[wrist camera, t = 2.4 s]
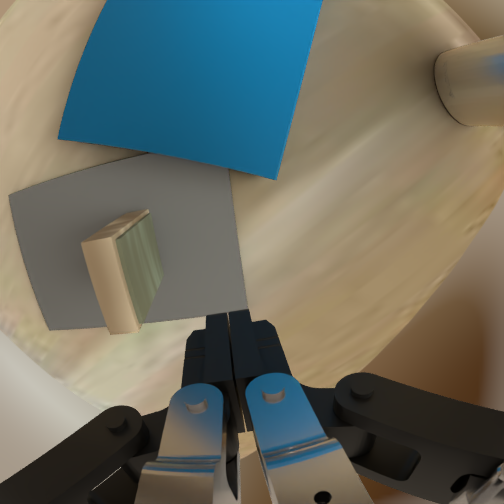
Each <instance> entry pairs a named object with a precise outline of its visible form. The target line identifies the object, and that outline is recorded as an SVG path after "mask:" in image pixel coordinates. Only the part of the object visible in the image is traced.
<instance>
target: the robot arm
mask: <svg viewBox="0 0 504 504" xmlns="http://www.w3.org/2000/svg"><path fill="white" fill-rule="evenodd" d="M435 82H436V86H437V90H438V92H439V95H440V98H441V100H442V102H443V103H444V105H445V107H446V109H447V110H448V111H449V113H450V114H451V115H452V116H453V117H454V118H455V119H456V120H457V121H458V122H460V123H461V124H464V125H467V126H504V35H502V36H498V37H494V38H490V39H486V40H482V41H479V42H475V43H472V44H468V45H464V46H461V47H458V48H455V49H452V50H449V51H446V52H443V53H442V54H440V55H439V57H438V58H437V60H436V64H435ZM228 313H229V320H228V315H227V312H224V313H217V314H210V315H206V329H202V330H195V331H193V332H192V333H191V335H190V336H189V337H188V339H187V342H186V351H185V359H184V367H183V376H182V385H181V389H180V390H178V391H177V392H176V393H175V394H174V395H173V396H172V398H171V400H170V404H169V407H167V408H165V409H163V410H161V411H158V412H154V413H151V414H147V415H144V416H141V415H140V413H139V412H138V411H137V410H136V409H134V408H132V407H129V406H114V407H111V408H109V409H107V410H105V411H103V412H102V413H101V414H99V415H98V416H96V417H95V418H94V419H92V420H91V421H90V422H88V423H87V424H86V425H84V426H83V427H81V428H80V429H79V430H77V431H76V432H75V433H73V434H72V435H70V436H69V437H68V438H66V439H65V440H63V441H62V442H61V443H59V444H58V445H57V446H55V447H54V448H52V449H51V450H49V451H48V452H47V453H45V454H44V455H42V456H41V457H39V458H38V459H36V460H35V461H34V462H32V463H30V464H29V465H28V466H26V467H25V468H23V469H22V470H20V471H19V472H17V473H16V474H14V475H13V476H11V477H10V478H8V479H7V480H5V481H3V482H2V483H0V504H241V488H240V454H239V440H238V433H242V432H245V427H244V419H245V423H246V428H247V432H248V431H253V433H254V438H255V442H256V447H257V451H258V455H259V458H260V462H261V465H262V469H263V472H264V476H265V479H266V483H267V486H268V489H269V492H270V496H271V499H272V503H273V504H373V502H372V500H371V498H370V496H369V495H368V493H367V491H366V489H365V487H364V486H363V484H362V482H361V480H360V478H359V477H358V475H357V473H358V474H360V475H363V476H365V477H367V478H369V479H372V480H374V481H376V482H379V483H381V484H384V485H387V486H389V487H392V488H394V489H397V490H400V491H403V492H405V493H408V494H411V495H414V496H417V497H420V498H423V499H426V500H429V501H433V502H436V503H439V504H504V412H503V411H498V410H494V409H490V408H485V407H481V406H478V405H473V404H470V403H466V402H462V401H458V400H455V399H451V398H447V397H444V396H441V395H437V394H434V393H430V392H427V391H424V390H420V389H417V388H414V387H411V386H407V385H405V384H402V383H398V382H395V381H392V380H389V379H386V378H383V377H380V376H378V375H374V374H371V373H354V374H350V375H348V376H346V377H344V378H342V379H341V380H340V381H339V382H338V383H337V385H336V387H335V388H312V387H308V386H305V385H302V384H301V383H299V382H298V381H297V380H296V379H295V378H294V377H293V376H292V374H291V371H290V368H289V366H288V363H287V360H286V357H285V354H284V352H283V349H282V346H281V343H280V340H279V338H278V335H277V332H276V329H275V327H274V326H273V325H272V324H271V323H269V322H268V321H267V320H262V321H256V322H252V321H251V316H250V312H249V309H243V310H237V311H230V312H228ZM229 323H230V326H229ZM242 410H243V412H242ZM243 415H244V419H243ZM120 467H121V468H120ZM119 468H120V469H119ZM117 469H119V470H117ZM116 470H117V471H116ZM115 471H116V472H115ZM114 472H115V473H114ZM112 473H114V474H113V475H111V474H112ZM110 475H111V476H110ZM109 476H110V477H109ZM108 477H109V478H108ZM106 478H108V479H106ZM105 479H106V480H105ZM104 480H105V481H104ZM103 481H104V482H103ZM101 482H103V483H101ZM100 483H101V484H100ZM99 484H100V485H99ZM98 485H99V486H98ZM96 486H98V487H96ZM95 487H96V488H95ZM94 488H95V489H94ZM92 489H94V490H92Z"/></svg>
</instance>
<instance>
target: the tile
mask: <svg viewBox="0 0 504 504" xmlns="http://www.w3.org/2000/svg"><path fill="white" fill-rule="evenodd" d="M81 246H82V249H83V253H84V257H85V260H86V264H87V267H88V271H89V274H90V278H91V281H92V284H93V287H94V290H95V293H96V296H97V299H98V302H99V305H100V308H101V311H102V314H103V316H104V319H105V322H106V325H107V327H108V330H109V332H110V335H112V334H125V333H137V332H139V330H140V328H141V325H142V324H143V323H144V321H145V319H146V316H147V314H148V311H149V309H150V306H151V304H152V302H153V299H154V297H155V295H156V292H157V290H158V288H159V285H160V283H161V281H162V278H163V276H164V272H163V268H162V263H161V259H160V255H159V250H158V245H157V241H156V236H155V231H154V226H153V221H152V216H151V213H149V210H148V209H145V210H140V211H135V212H130V213H126V214H124V215H123V216H121V217H119V218H118V219H116V220H115V221H113V222H112V223H110V224H108V225H107V226H105V227H104V228H102V229H101V230H99V231H98V232H96V233H95V234H93V235H92V236H90V237H89V238H87V239H86V240H84V241H83V242H81Z"/></svg>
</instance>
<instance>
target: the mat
mask: <svg viewBox="0 0 504 504" xmlns="http://www.w3.org/2000/svg"><path fill="white" fill-rule="evenodd" d="M9 201H10V206H11V211H12V216H13V221H14V225H15V230H16V234H17V238H18V242H19V245H20V249H21V253H22V256H23V260H24V263H25V266H26V270H27V273H28V276H29V279H30V282H31V285H32V288H33V290H34V293H35V296H36V299H37V301H38V304H39V307H40V309H41V312H42V314H43V316H44V319H45V321H46V324H47V326H48V328H49V330H68V329H84V328H98V327H107V325H106V322H105V319H104V316H103V314H102V311H101V308H100V305H99V302H98V299H97V296H96V293H95V290H94V287H93V284H92V281H91V278H90V274H89V271H88V267H87V264H86V260H85V257H84V253H83V249H82V246H81V242H83V241H84V240H86V239H87V238H89V237H90V236H92V235H93V234H95V233H96V232H98V231H99V230H101V229H102V228H104V227H105V226H107V225H108V224H110V223H112V222H113V221H115V220H116V219H118V218H119V217H121V216H123V215H124V214H126V213H130V212H135V211H140V210H145V209H148V210H149V213H151V216H152V221H153V226H154V231H155V236H156V241H157V245H158V250H159V255H160V259H161V263H162V268H163V272H164V276H163V278H162V281H161V283H160V285H159V288H158V290H157V292H156V295H155V297H154V299H153V302H152V304H151V306H150V309H149V311H148V314H147V316H146V319H145V321H144V323H152V322H161V321H170V320H179V319H187V318H195V317H202V316H206V315H210V314H217V313H224V312H227V313H228V312H230V311H237V310H243V309H248V306H247V299H246V292H245V285H244V278H243V271H242V264H241V257H240V250H239V243H238V236H237V228H236V221H235V214H234V207H233V199H232V192H231V184H230V177H229V169H228V168H224V167H219V166H215V165H210V164H206V163H201V162H196V161H191V160H186V159H181V158H176V157H171V156H166V155H161V154H155V153H149V154H144V155H140V156H135V157H131V158H127V159H122V160H118V161H114V162H110V163H107V164H103V165H99V166H95V167H92V168H88V169H85V170H81V171H78V172H74V173H71V174H68V175H64V176H61V177H58V178H55V179H52V180H49V181H46V182H43V183H40V184H37V185H34V186H32V187H29V188H26V189H23V190H21V191H18V192H15V193H13V194H10V195H9Z"/></svg>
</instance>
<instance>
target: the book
mask: <svg viewBox="0 0 504 504" xmlns="http://www.w3.org/2000/svg"><path fill="white" fill-rule="evenodd" d="M322 1H323V0H107V1H106V3H105V5H104V7H103V9H102V11H101V13H100V15H99V17H98V20H97V22H96V24H95V26H94V28H93V30H92V33H91V35H90V37H89V40H88V42H87V45H86V47H85V49H84V52H83V55H82V57H81V60H80V63H79V65H78V68H77V71H76V74H75V77H74V80H73V83H72V86H71V89H70V92H69V96H68V99H67V102H66V106H65V110H64V113H63V117H62V121H61V125H60V130H59V134H58V139H60V140H69V141H77V142H83V143H91V144H98V145H105V146H112V147H119V148H125V149H132V150H138V151H144V152H149V153H155V154H161V155H166V156H171V157H176V158H181V159H186V160H191V161H196V162H201V163H206V164H210V165H215V166H219V167H224V168H228V169H232V170H236V171H241V172H245V173H249V174H253V175H257V176H261V177H265V178H269V179H273V180H277V176H278V172H279V169H280V165H281V161H282V157H283V153H284V150H285V146H286V142H287V138H288V134H289V130H290V126H291V123H292V119H293V115H294V111H295V107H296V103H297V99H298V95H299V92H300V88H301V84H302V80H303V76H304V72H305V68H306V64H307V60H308V56H309V52H310V48H311V45H312V41H313V37H314V33H315V29H316V25H317V21H318V17H319V13H320V9H321V5H322Z"/></svg>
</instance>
